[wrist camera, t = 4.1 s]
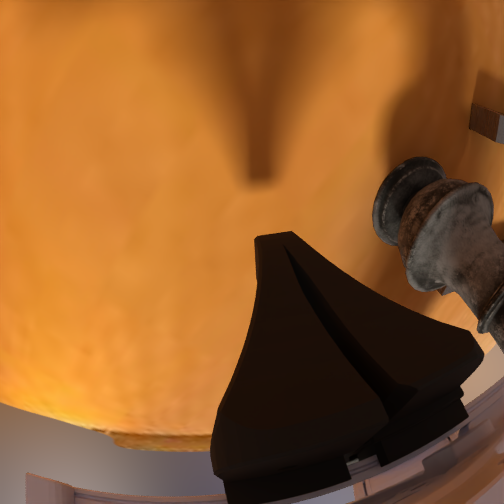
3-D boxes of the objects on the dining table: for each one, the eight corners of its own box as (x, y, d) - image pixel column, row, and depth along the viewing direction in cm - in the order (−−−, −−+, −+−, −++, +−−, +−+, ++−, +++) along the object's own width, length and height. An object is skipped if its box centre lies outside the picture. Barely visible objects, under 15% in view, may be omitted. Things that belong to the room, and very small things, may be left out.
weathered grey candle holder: (445, 135, 11) (631, 293, 1) (450, 219, 14) (571, 365, 5) (354, 181, 12) (548, 429, 2) (377, 265, 15) (487, 449, 6)
